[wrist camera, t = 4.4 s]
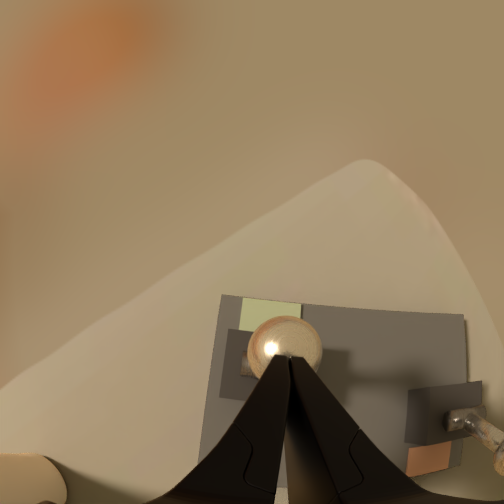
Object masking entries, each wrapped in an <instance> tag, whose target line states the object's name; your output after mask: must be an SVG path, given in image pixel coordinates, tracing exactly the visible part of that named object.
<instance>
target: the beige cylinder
mask: <svg viewBox="0 0 504 504" xmlns="http://www.w3.org/2000/svg"><path fill="white" fill-rule="evenodd" d="M66 499H67V488H66V484H65V482H64V479H63V477H62V475H61V474H60V472H59V471H58V469H57V468H56V467H55V466H54V465H53V464H52V463H51V462H50V461H49V460H48V459H46V458H45V457H43V456H41V455H39V454H36V453H20V454H9V453H0V504H37V503H39V502H41V501H44V500H48V501H52V502H54V503H57V504H65V502H66Z"/></svg>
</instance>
